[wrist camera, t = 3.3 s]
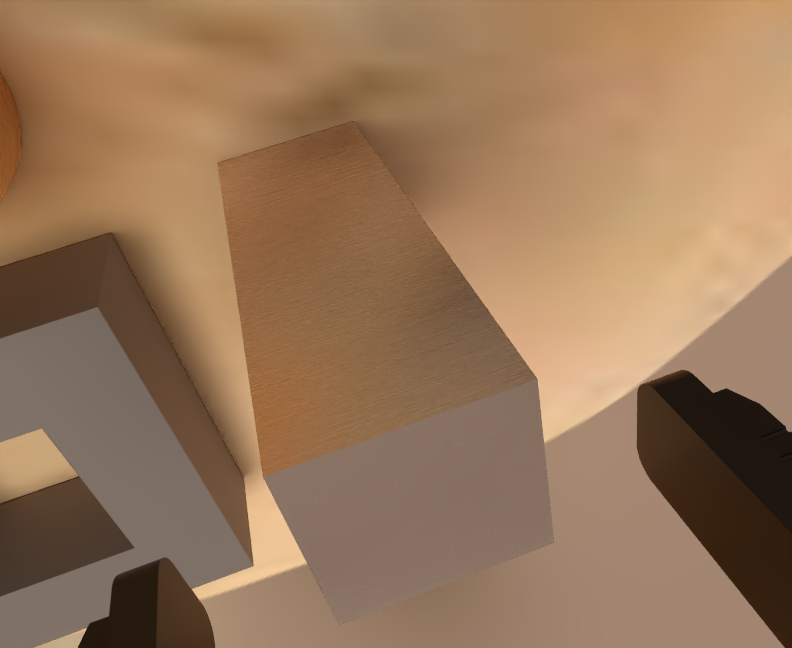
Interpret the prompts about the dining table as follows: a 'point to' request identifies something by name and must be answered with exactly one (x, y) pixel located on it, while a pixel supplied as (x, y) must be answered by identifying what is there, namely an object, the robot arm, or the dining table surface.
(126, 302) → the socket block
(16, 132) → the round bit
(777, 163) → the dining table surface
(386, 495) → the square bit
